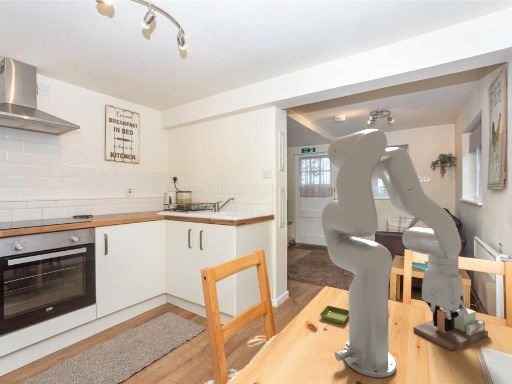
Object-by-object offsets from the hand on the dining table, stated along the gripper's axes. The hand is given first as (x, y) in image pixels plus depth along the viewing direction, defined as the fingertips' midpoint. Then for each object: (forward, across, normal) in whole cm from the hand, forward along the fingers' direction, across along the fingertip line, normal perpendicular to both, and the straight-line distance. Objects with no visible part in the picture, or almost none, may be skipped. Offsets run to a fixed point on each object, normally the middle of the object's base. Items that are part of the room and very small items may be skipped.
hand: (443, 327), depth 78 cm
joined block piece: (+1, 0, +5) cm, 5 cm away
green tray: (+3, -23, -22) cm, 32 cm away
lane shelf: (+3, 0, +3) cm, 4 cm away
